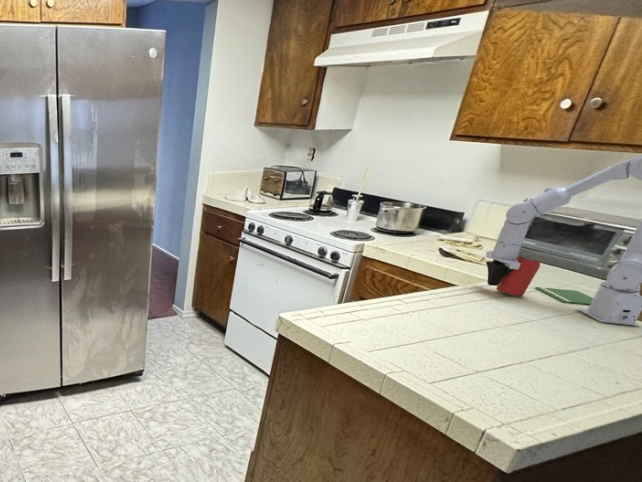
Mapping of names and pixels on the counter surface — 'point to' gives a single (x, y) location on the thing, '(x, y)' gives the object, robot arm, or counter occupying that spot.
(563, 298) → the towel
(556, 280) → the counter surface
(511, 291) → the beer can
